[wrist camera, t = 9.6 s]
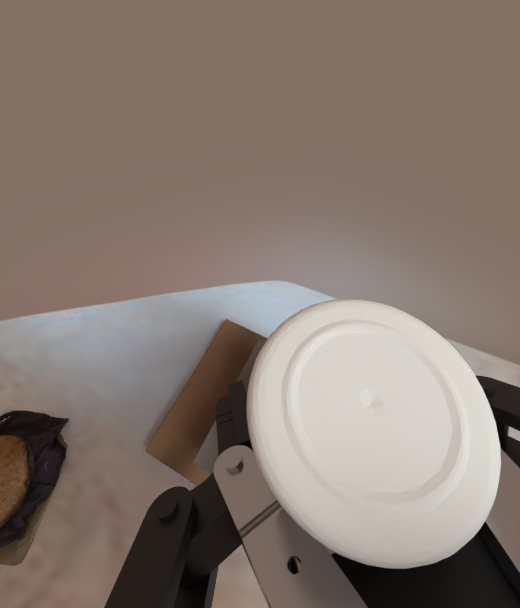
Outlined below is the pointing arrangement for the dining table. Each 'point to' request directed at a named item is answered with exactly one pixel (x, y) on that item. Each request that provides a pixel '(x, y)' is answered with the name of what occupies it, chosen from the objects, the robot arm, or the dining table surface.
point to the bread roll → (26, 477)
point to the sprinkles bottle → (373, 434)
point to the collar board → (205, 404)
